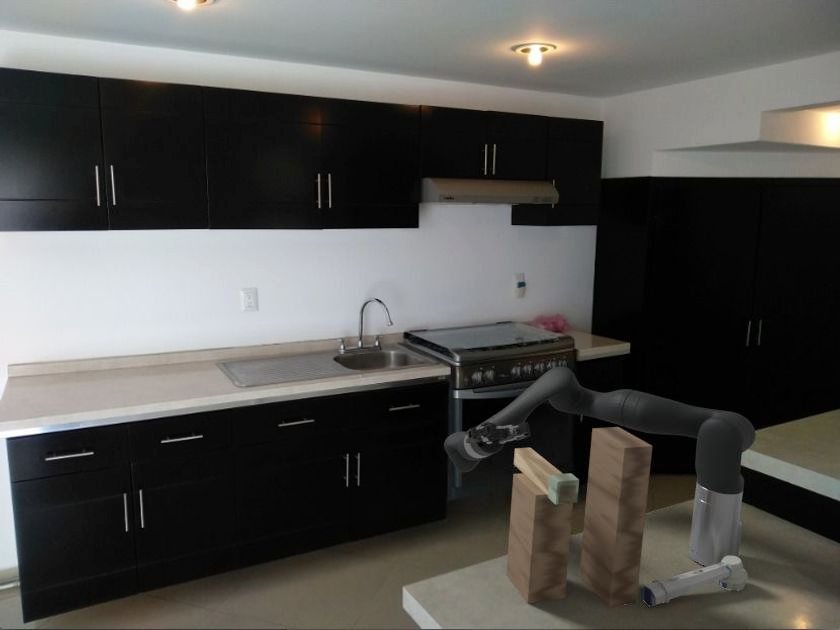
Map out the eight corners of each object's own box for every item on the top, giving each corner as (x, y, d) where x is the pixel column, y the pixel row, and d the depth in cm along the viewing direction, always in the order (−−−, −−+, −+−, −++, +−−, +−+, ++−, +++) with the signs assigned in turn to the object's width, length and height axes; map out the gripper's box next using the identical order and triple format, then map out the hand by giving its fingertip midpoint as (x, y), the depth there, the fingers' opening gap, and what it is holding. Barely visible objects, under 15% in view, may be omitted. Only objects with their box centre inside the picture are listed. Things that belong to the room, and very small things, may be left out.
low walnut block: (541, 570, 132) (549, 471, 129) (564, 598, 122) (573, 491, 119) (506, 574, 130) (513, 474, 126) (527, 603, 120) (535, 495, 117)
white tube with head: (637, 579, 123) (733, 545, 132) (637, 609, 125) (732, 573, 133) (655, 594, 119) (754, 557, 127) (656, 625, 120) (753, 587, 128)
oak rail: (530, 463, 132) (532, 443, 132) (577, 502, 114) (579, 479, 114) (511, 464, 131) (513, 444, 131) (555, 504, 113) (557, 481, 113)
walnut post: (604, 572, 132) (618, 427, 127) (636, 603, 122) (652, 446, 117) (579, 575, 130) (592, 428, 126) (609, 607, 120) (624, 447, 115)
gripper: (454, 426, 152) (477, 412, 137) (508, 424, 156) (536, 409, 141) (457, 458, 149) (481, 446, 134) (512, 454, 153) (541, 443, 138)
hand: (509, 427), depth 138 cm, fingers open, 8 cm apart
